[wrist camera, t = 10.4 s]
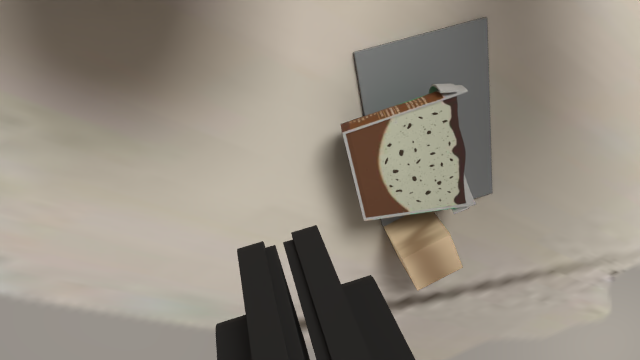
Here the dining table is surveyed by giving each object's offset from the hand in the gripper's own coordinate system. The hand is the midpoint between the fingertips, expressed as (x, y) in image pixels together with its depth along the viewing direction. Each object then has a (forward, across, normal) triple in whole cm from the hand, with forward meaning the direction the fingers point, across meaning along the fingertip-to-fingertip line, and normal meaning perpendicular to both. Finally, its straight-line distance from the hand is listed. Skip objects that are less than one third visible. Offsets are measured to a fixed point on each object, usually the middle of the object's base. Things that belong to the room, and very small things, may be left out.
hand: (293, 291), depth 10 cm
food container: (+30, -7, +14) cm, 34 cm away
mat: (+32, -16, +14) cm, 39 cm away
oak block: (+32, -13, +25) cm, 42 cm away
